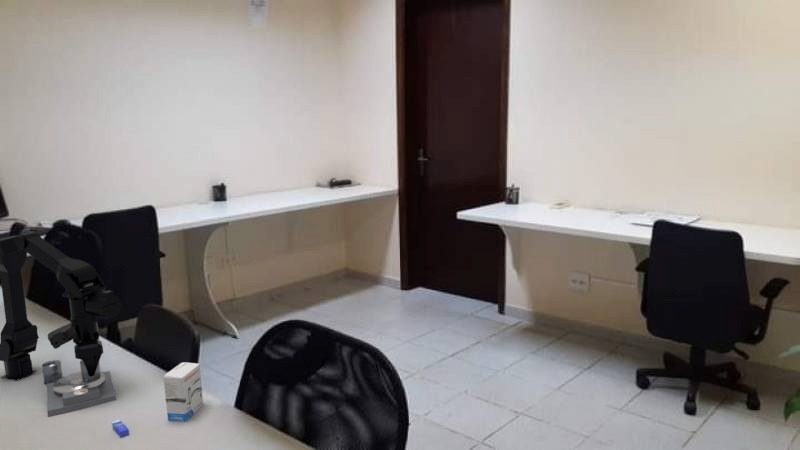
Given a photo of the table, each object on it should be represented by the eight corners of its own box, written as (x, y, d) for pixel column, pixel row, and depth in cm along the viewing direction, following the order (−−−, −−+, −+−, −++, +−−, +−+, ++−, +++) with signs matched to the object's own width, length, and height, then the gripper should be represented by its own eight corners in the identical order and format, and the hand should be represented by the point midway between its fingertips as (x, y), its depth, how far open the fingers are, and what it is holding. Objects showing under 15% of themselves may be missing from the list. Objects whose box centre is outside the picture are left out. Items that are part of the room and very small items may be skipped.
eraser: (121, 426, 144) (120, 418, 143) (129, 436, 139) (128, 428, 139) (112, 429, 142) (111, 421, 142) (120, 440, 138) (119, 431, 138)
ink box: (186, 425, 143) (181, 378, 141) (166, 423, 144) (162, 376, 142) (204, 407, 152) (200, 362, 149) (186, 405, 153) (182, 361, 150)
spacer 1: (40, 383, 166) (38, 365, 165) (53, 376, 170) (51, 359, 169) (53, 385, 165) (51, 367, 164) (66, 378, 169) (64, 360, 168)
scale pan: (53, 382, 163) (52, 377, 163) (103, 372, 169) (102, 367, 168) (54, 401, 153) (53, 395, 152) (107, 389, 158) (106, 384, 158)
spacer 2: (91, 373, 164) (89, 356, 163) (104, 375, 163) (102, 357, 162) (78, 380, 160) (76, 362, 159) (91, 383, 159) (89, 364, 158)
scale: (47, 389, 163) (45, 375, 162) (110, 375, 170) (108, 363, 169) (48, 416, 148) (46, 402, 148) (116, 401, 156) (114, 387, 155)
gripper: (47, 309, 162) (54, 364, 165) (47, 331, 146) (56, 392, 149) (94, 301, 168) (100, 355, 171) (99, 322, 152) (106, 381, 155)
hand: (90, 370), depth 161 cm, fingers open, 8 cm apart
